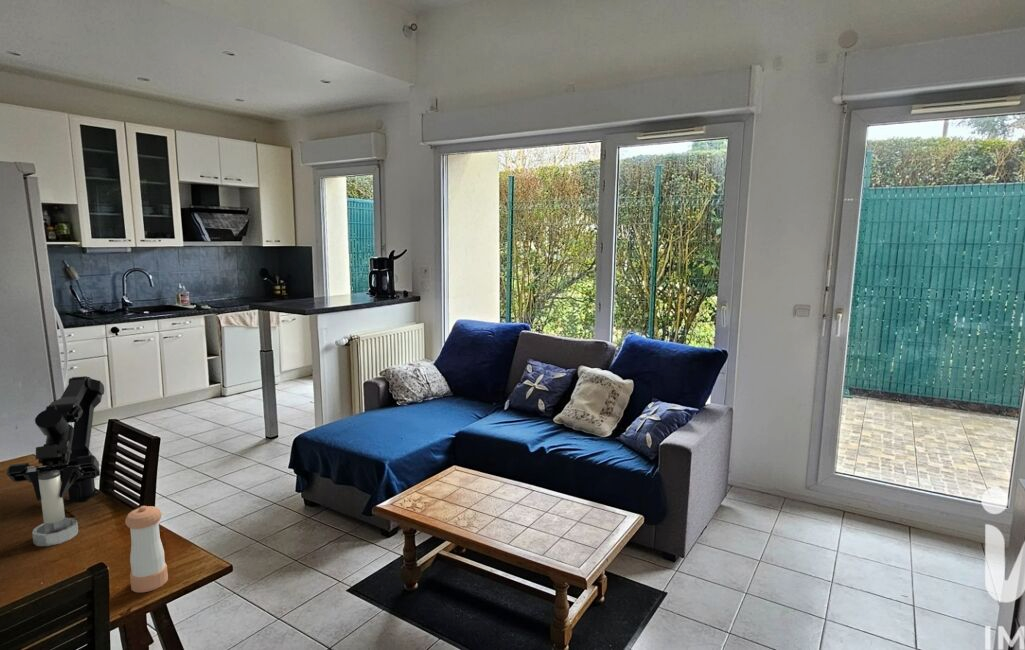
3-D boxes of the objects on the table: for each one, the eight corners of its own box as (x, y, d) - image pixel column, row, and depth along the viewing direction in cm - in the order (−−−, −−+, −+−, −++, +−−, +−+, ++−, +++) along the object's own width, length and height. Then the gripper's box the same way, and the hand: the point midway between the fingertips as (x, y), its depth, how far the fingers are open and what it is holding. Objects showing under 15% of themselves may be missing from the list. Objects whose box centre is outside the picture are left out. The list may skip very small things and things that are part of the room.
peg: (56, 514, 152) (51, 469, 150) (69, 516, 151) (63, 471, 149) (39, 522, 148) (33, 475, 146) (52, 524, 147) (46, 477, 145)
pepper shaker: (161, 570, 136) (154, 496, 133) (173, 581, 132) (166, 505, 129) (126, 583, 130) (118, 507, 127) (137, 596, 126) (129, 517, 123)
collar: (53, 527, 154) (52, 517, 154) (86, 528, 154) (85, 518, 154) (24, 545, 145) (23, 535, 145) (59, 546, 145) (58, 535, 145)
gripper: (4, 435, 145) (-9, 493, 137) (91, 427, 153) (85, 481, 145) (19, 453, 154) (8, 509, 145) (102, 444, 161) (96, 496, 153)
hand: (49, 498), depth 147 cm, fingers closed on peg, 4 cm apart
